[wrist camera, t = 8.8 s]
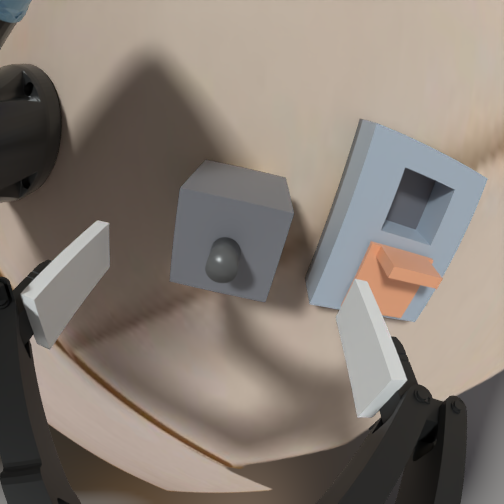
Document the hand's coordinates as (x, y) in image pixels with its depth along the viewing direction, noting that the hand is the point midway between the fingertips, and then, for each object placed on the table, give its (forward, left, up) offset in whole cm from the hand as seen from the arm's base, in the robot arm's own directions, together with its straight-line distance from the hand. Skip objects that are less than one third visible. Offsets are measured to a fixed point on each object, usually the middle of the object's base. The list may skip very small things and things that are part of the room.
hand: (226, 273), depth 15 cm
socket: (+14, +1, -12) cm, 18 cm away
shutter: (+14, -3, -8) cm, 16 cm away
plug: (0, 0, -12) cm, 12 cm away
